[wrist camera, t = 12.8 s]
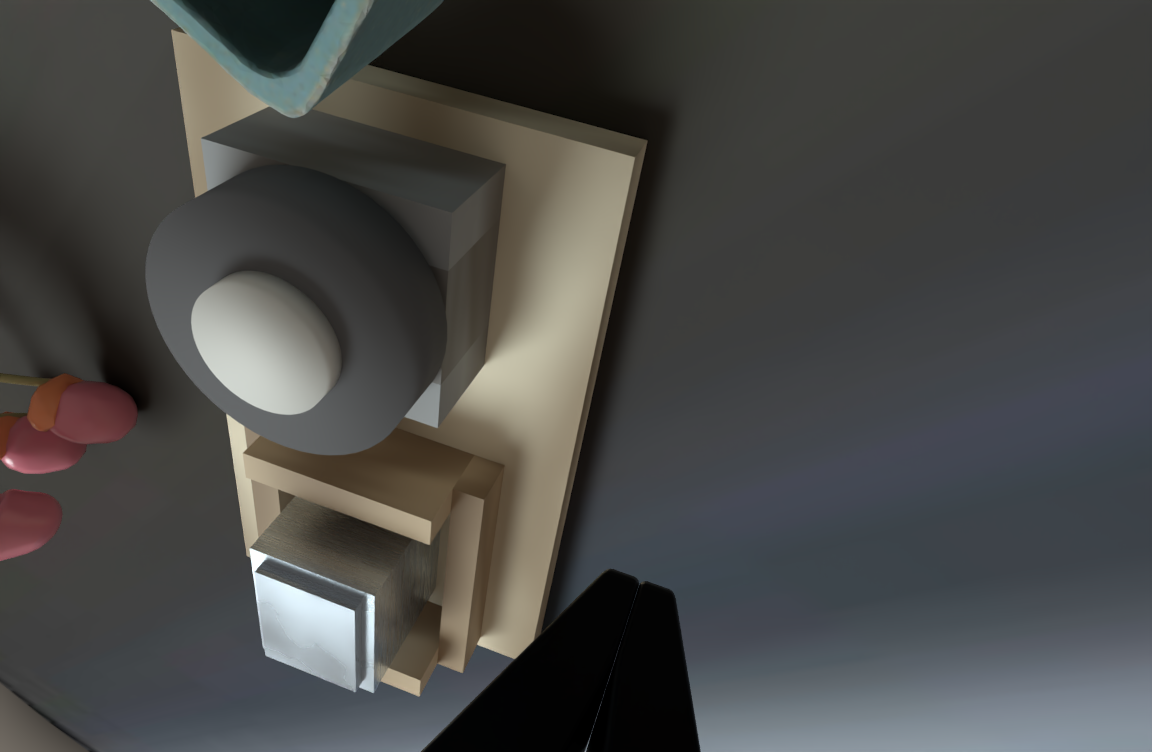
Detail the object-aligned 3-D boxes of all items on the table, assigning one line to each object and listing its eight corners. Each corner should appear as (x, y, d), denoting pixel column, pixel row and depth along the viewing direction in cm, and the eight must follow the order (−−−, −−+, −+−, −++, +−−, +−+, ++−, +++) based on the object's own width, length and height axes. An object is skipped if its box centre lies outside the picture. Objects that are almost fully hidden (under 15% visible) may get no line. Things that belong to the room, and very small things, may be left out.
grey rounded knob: (510, 162, 19) (400, 262, 14) (486, 377, 22) (393, 507, 18) (267, 93, 20) (97, 168, 15) (284, 311, 23) (151, 419, 19)
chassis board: (647, 140, 19) (597, 208, 16) (539, 638, 31) (498, 736, 28) (203, 20, 21) (74, 58, 17) (265, 534, 33) (196, 614, 29)
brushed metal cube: (444, 491, 26) (367, 607, 22) (435, 587, 29) (367, 703, 25) (333, 452, 27) (241, 558, 23) (337, 549, 30) (255, 658, 26)
